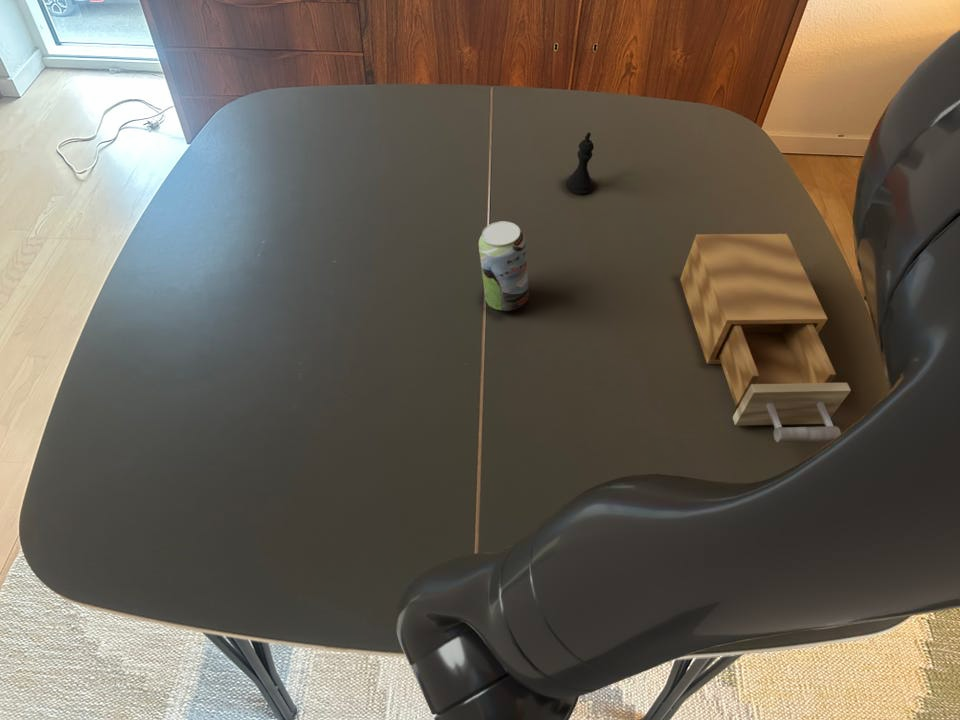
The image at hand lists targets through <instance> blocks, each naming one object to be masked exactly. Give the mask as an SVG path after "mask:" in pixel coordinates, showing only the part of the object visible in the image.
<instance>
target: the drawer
mask: <svg viewBox="0 0 960 720" xmlns="http://www.w3.org/2000/svg"><path fill="white" fill-rule="evenodd" d="M718 355H719V358H720V361H721V364H720V365H721V367H722V370H723V373H724V376H725V379H726V382H727V385H728V388H729V391H730V394H731V397H732V400H733V402H734V403H733V404H734V407H736V410H735V412H734V414H733V416H732V420H733V423H734V426H773V428H774V430H773V438H774V441H775V442H776V443H791V442H794V443H797V442H831V441H833V440H834V439H835V438H836V437H838V436H839V435H840V434H842V431H841V429H840V427H839V426H837V425H834V423H833V421H832V420H831V418H832V417H833V416H834V415H835V413H836V411H837V410H838V409H839V407H840V406H841V405H842V404H843V402H844V400H845V399H846V398H847V397H848V395H849V394H850V393H851V391H852V390H851V387H850V385H849V383H848V382H832V381H833V380H834V379H835V378H836V376H837V373H836V371H835V369H834V366H833V364H832V362H831V360H830V358H829V356H828V355H829V354H828V353H827V351H826V349H825V346H824V344H823V343H822V340H821V338H820V336H819V334H818V333H817V331H816V329H815V327H814V325H813V323H789V324H731V326H730V328H729V330H728V332H727V335H726V337H725V339H724V341H723V343H722V345H721V347H720V350H719V352H718ZM821 424H822V425H824V426H797V427H796V426H792V427H791V426H789V427H787V426H786V427H784V426H783V425H821Z"/></svg>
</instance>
